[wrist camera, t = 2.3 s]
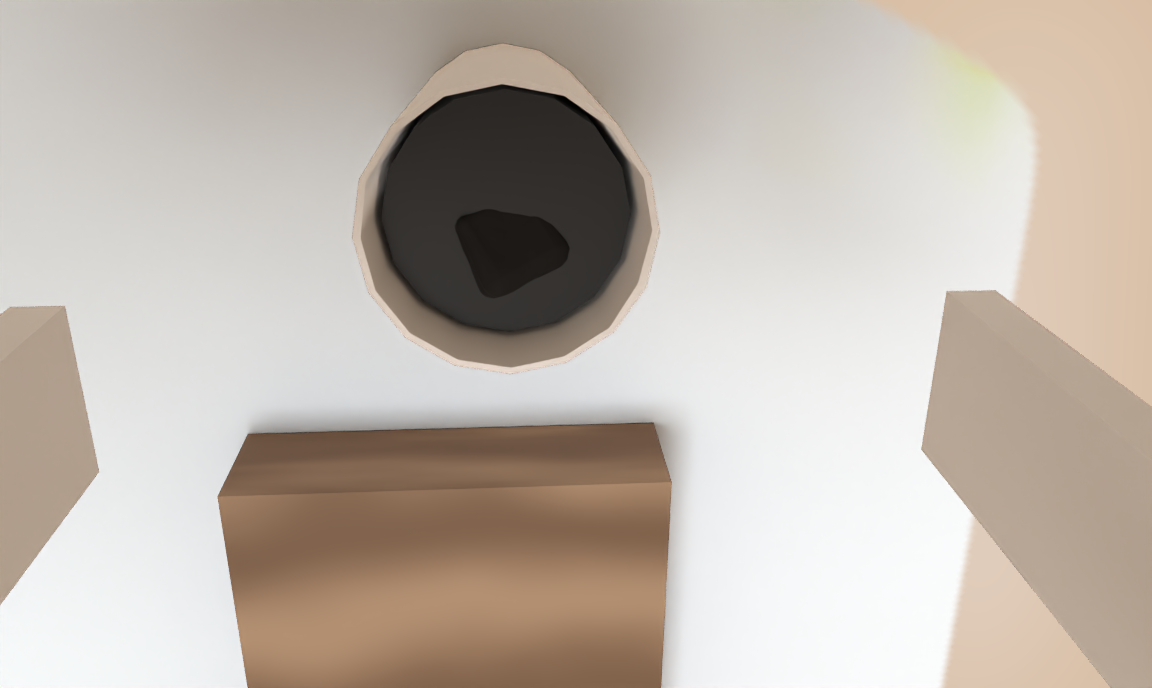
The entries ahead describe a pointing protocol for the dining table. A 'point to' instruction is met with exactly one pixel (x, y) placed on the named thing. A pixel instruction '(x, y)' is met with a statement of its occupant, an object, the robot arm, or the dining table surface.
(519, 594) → the walnut riser block
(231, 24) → the dining table surface
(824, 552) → the dining table surface
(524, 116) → the beige hollow cylinder
